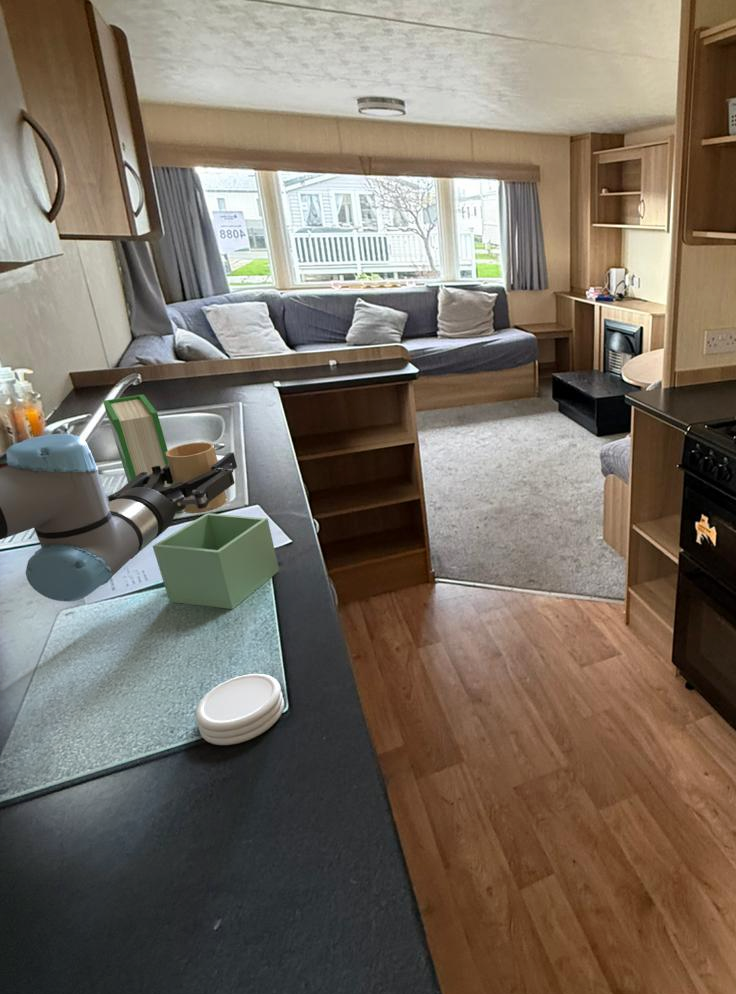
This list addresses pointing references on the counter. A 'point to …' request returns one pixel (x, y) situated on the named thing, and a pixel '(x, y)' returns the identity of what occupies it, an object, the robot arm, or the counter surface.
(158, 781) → the counter surface
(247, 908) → the counter surface
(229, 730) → the coaster
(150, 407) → the hardback book
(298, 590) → the counter surface
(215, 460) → the tan hollow cylinder
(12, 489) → the robot arm
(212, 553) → the bin
